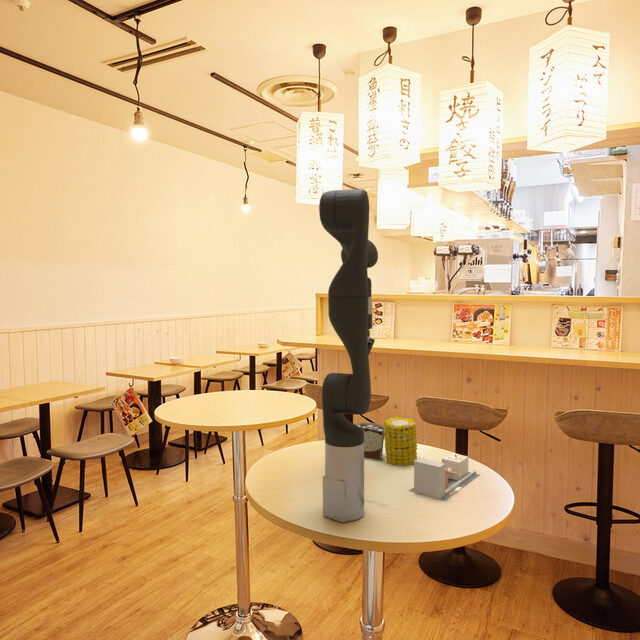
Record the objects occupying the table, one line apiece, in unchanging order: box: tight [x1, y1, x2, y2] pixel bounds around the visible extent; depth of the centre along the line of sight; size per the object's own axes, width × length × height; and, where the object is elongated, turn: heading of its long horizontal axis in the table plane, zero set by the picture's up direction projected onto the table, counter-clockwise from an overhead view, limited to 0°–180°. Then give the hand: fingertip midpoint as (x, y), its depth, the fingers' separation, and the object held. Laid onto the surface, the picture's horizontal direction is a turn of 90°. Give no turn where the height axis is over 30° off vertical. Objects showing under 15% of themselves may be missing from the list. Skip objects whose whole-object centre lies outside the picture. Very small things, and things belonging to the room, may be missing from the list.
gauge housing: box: [441, 452, 469, 481], centre depth 134 cm, size 9×5×5 cm, turn 140°
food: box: [383, 416, 418, 467], centre depth 147 cm, size 15×12×10 cm
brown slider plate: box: [445, 468, 457, 489], centre depth 126 cm, size 1×7×5 cm, turn 50°
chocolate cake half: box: [354, 422, 385, 462], centre depth 156 cm, size 12×6×10 cm, turn 58°
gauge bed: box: [408, 457, 481, 502], centre depth 130 cm, size 22×10×10 cm, turn 140°
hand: (359, 371), depth 143 cm, fingers closed
